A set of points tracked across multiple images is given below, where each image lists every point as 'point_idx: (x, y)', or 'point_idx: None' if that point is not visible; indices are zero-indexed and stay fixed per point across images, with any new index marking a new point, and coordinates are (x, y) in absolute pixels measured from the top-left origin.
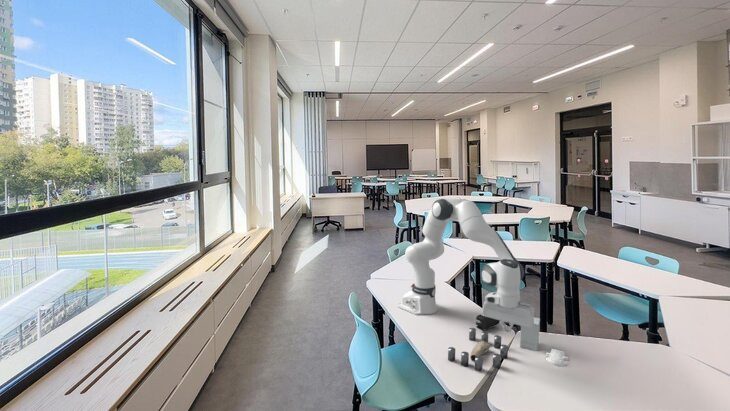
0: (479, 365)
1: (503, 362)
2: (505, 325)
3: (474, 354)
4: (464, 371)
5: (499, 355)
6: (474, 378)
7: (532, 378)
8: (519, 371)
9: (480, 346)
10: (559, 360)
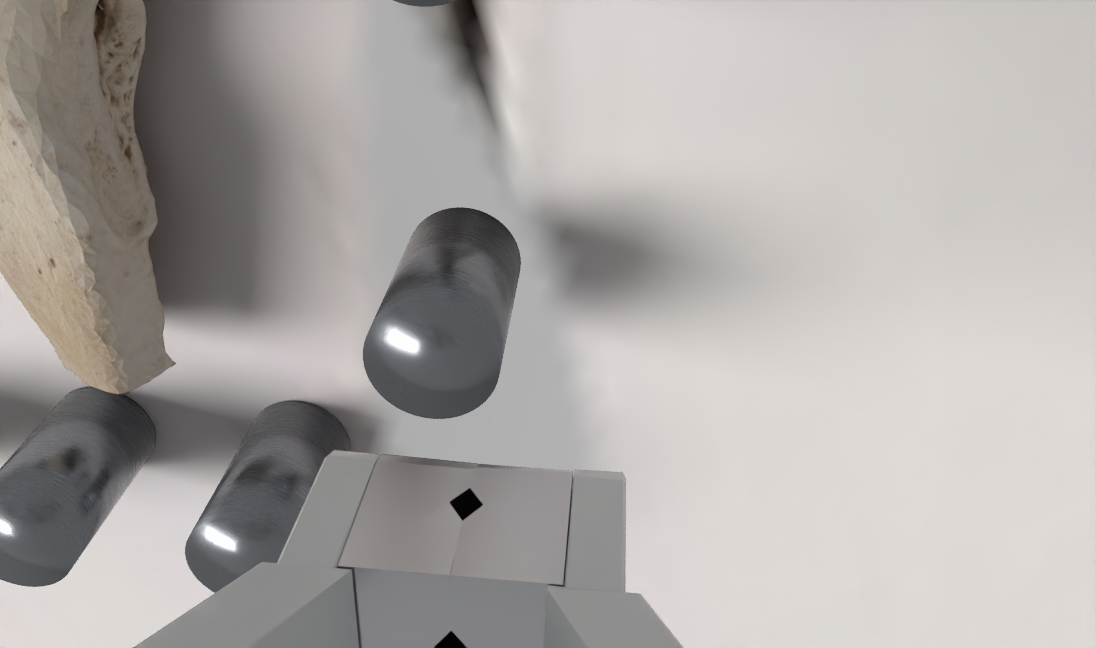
0: None
1: (518, 82)
2: (335, 603)
3: (101, 380)
4: None
5: (474, 346)
6: None
7: (1011, 280)
8: (809, 203)
9: (8, 103)
10: None
